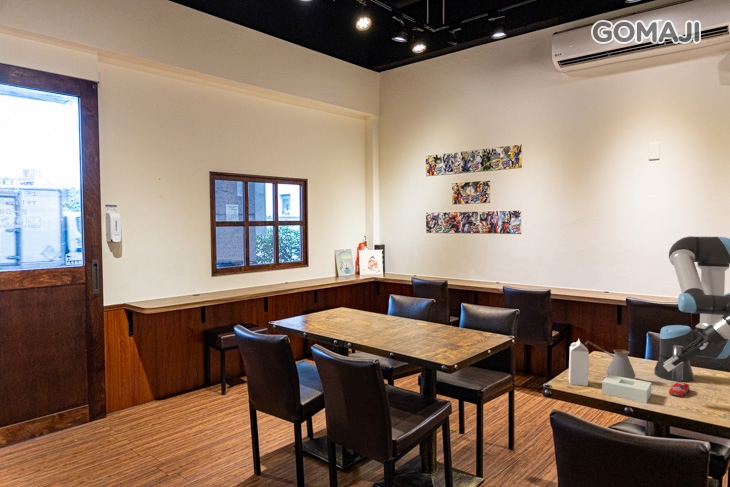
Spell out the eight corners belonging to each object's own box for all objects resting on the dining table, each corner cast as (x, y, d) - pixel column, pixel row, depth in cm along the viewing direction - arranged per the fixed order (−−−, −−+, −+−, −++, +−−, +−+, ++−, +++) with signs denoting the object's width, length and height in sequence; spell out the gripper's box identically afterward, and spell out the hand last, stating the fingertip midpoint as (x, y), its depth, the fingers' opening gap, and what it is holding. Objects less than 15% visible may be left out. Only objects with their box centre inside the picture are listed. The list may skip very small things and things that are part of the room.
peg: (675, 376, 189) (676, 344, 188) (684, 379, 186) (686, 347, 185) (669, 378, 188) (671, 345, 187) (679, 381, 184) (680, 348, 184)
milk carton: (585, 381, 211) (587, 339, 210) (587, 386, 205) (589, 343, 204) (568, 379, 214) (569, 337, 213) (569, 384, 207) (571, 341, 206)
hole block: (601, 393, 196) (602, 381, 196) (608, 385, 206) (608, 374, 205) (646, 403, 186) (646, 390, 186) (651, 394, 196) (651, 382, 195)
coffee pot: (638, 379, 214) (639, 346, 214) (630, 385, 206) (631, 351, 205) (589, 368, 229) (590, 338, 229) (580, 374, 221) (581, 342, 220)
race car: (682, 399, 191) (682, 389, 191) (667, 395, 196) (667, 386, 195) (692, 391, 200) (692, 382, 200) (677, 388, 204) (677, 379, 204)
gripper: (729, 345, 170) (672, 381, 181) (727, 335, 184) (674, 369, 194) (712, 328, 173) (657, 365, 183) (710, 320, 186) (659, 354, 197)
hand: (666, 367), depth 189 cm, fingers closed on peg, 3 cm apart
